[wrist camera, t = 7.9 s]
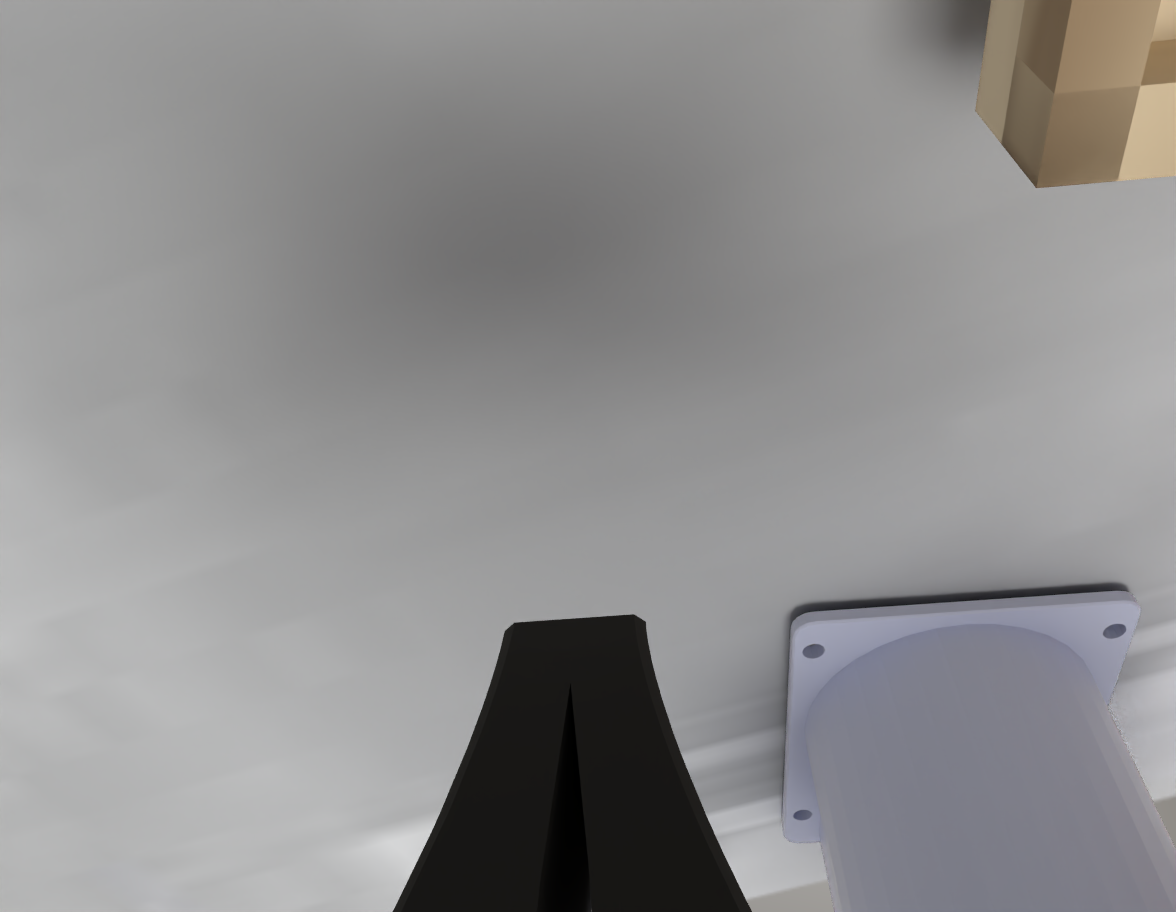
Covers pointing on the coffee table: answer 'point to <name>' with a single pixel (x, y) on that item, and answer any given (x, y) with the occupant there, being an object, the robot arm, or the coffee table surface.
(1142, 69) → the tan wooden slatted block
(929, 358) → the coffee table surface
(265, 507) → the coffee table surface
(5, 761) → the coffee table surface
